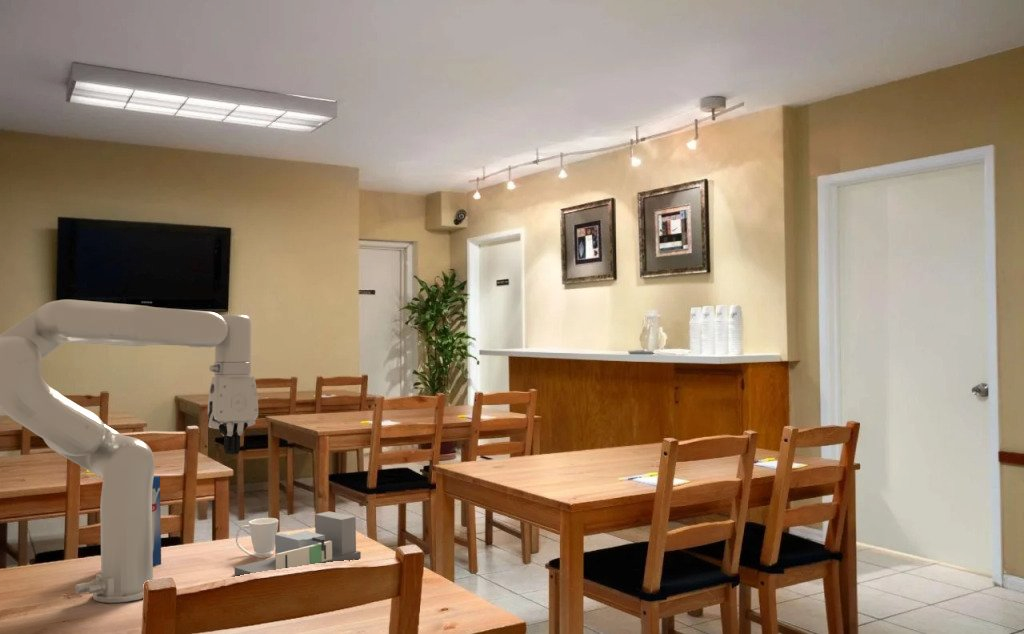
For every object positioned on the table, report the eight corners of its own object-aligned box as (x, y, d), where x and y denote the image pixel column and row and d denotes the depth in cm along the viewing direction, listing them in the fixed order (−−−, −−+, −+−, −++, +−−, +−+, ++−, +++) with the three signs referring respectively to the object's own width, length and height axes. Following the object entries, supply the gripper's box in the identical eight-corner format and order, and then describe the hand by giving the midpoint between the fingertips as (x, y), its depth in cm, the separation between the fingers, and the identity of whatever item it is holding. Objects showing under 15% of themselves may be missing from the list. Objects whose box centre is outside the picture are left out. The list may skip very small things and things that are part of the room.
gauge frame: (266, 584, 175) (265, 538, 175) (234, 574, 183) (233, 530, 183) (361, 558, 194) (360, 516, 194) (328, 550, 202) (328, 510, 202)
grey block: (306, 566, 181) (305, 542, 181) (275, 557, 189) (275, 534, 189) (334, 558, 187) (334, 535, 187) (303, 550, 195) (303, 528, 195)
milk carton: (120, 574, 184) (119, 483, 185) (104, 570, 188) (103, 481, 188) (161, 563, 193) (160, 476, 193) (145, 560, 196) (144, 474, 196)
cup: (275, 558, 195) (274, 523, 195) (231, 559, 195) (231, 524, 195) (282, 550, 202) (282, 517, 202) (240, 552, 202) (240, 518, 202)
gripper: (209, 371, 178) (208, 458, 177) (272, 370, 189) (271, 452, 188) (192, 370, 183) (191, 455, 182) (254, 369, 194) (253, 449, 193)
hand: (231, 453), depth 185 cm, fingers closed
